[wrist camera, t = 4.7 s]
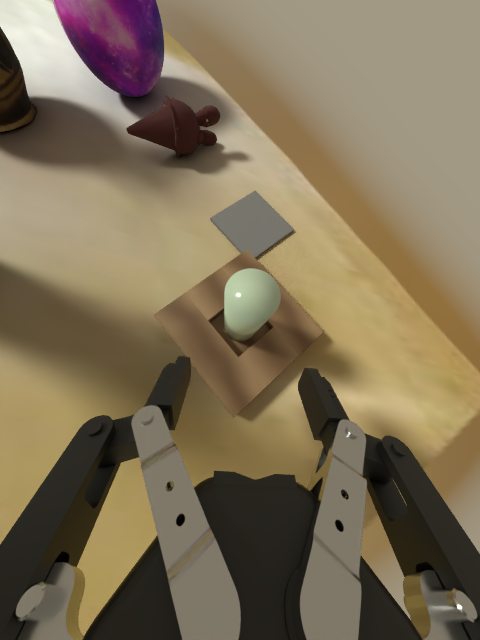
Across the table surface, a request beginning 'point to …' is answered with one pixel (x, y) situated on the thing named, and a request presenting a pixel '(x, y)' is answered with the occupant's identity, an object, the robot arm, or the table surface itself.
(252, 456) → the table surface
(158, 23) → the decorative orb
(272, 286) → the ball
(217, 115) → the icecream
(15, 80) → the ceramic jug
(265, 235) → the mat
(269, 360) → the pocket block
